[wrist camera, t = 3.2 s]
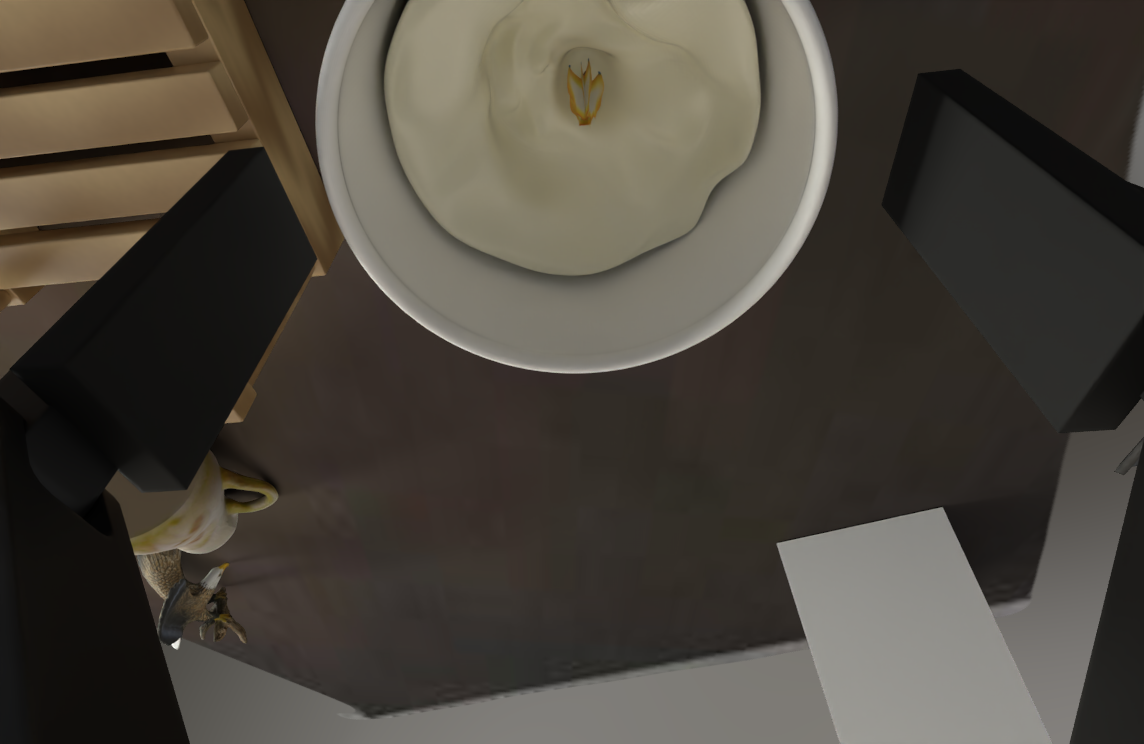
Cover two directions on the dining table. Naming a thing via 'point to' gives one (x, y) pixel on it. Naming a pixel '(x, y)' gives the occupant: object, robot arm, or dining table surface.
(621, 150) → the candle holder
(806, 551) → the milk
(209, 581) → the eagle figurine
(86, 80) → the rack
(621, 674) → the dining table surface
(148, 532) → the mug
